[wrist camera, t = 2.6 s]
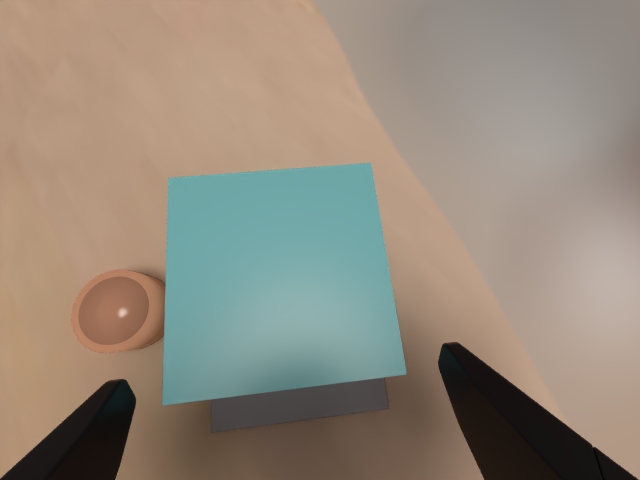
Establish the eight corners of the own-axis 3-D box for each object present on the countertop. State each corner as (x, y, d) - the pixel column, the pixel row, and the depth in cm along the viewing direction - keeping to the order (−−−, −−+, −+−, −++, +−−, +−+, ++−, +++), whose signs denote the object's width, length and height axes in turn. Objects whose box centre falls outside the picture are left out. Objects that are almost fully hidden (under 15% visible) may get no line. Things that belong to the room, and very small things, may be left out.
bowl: (174, 344, 18) (154, 347, 16) (97, 353, 18) (65, 358, 16) (175, 273, 19) (156, 265, 17) (103, 280, 19) (74, 273, 17)
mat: (387, 406, 18) (389, 408, 17) (213, 430, 17) (211, 432, 17) (358, 214, 21) (359, 212, 20) (210, 227, 20) (208, 225, 20)
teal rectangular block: (358, 350, 18) (407, 374, 9) (233, 365, 18) (162, 405, 9) (342, 232, 20) (371, 162, 11) (229, 243, 19) (168, 177, 11)
